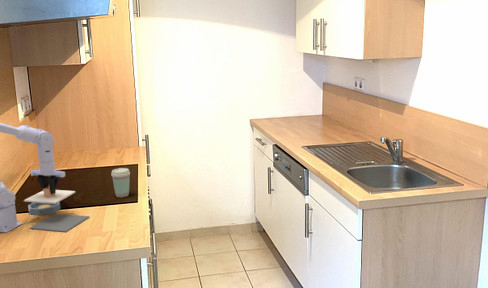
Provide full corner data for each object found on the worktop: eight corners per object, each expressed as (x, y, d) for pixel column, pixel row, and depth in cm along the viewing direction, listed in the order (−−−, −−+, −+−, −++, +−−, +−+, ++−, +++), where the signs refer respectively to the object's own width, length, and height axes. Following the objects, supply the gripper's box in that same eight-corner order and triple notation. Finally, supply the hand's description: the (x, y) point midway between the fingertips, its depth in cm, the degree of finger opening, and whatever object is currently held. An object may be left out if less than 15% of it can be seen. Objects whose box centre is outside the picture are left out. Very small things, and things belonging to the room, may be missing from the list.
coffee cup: (124, 191, 238) (122, 166, 235) (135, 194, 232) (134, 169, 230) (108, 196, 231) (106, 170, 229) (120, 199, 226) (118, 173, 223)
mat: (66, 232, 189) (65, 231, 189) (29, 228, 193) (29, 227, 193) (89, 217, 204) (89, 216, 204) (55, 214, 208) (55, 213, 208)
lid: (55, 203, 196) (54, 193, 195) (24, 201, 200) (22, 191, 199) (75, 192, 210) (74, 183, 209) (45, 190, 213) (44, 181, 212)
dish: (48, 215, 207) (47, 210, 207) (23, 213, 210) (22, 208, 210) (65, 206, 218) (64, 200, 218) (41, 204, 221) (40, 199, 221)
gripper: (68, 159, 203) (71, 191, 206) (37, 157, 207) (40, 189, 210) (57, 163, 197) (61, 196, 200) (25, 161, 200) (29, 194, 203)
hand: (49, 193), depth 204 cm, fingers closed on lid, 2 cm apart
